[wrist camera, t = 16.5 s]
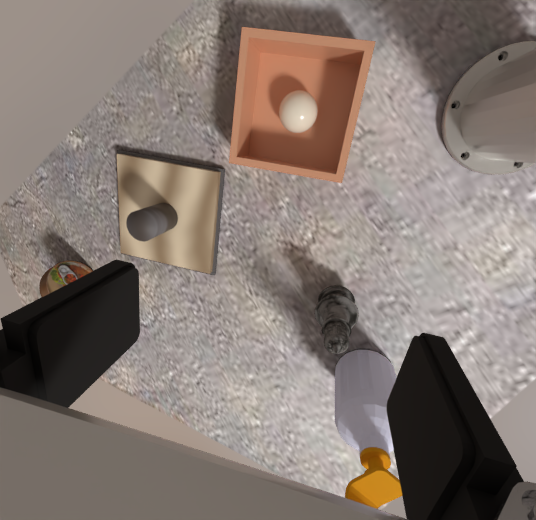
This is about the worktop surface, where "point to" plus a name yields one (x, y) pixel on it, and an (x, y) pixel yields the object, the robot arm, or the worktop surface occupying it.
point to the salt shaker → (336, 317)
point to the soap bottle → (367, 423)
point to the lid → (167, 212)
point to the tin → (62, 276)
